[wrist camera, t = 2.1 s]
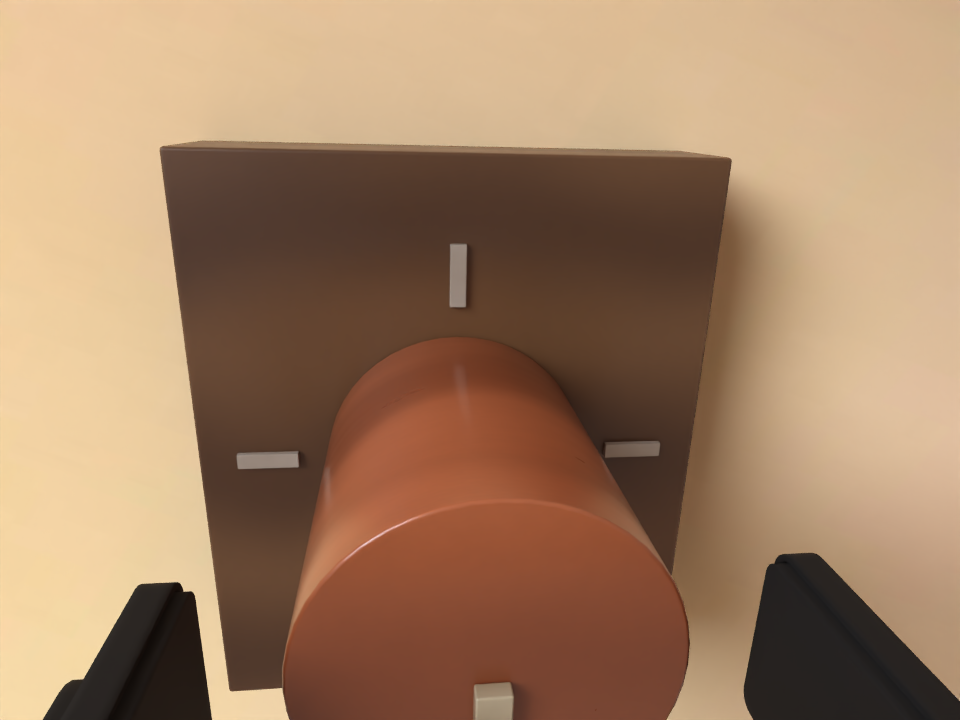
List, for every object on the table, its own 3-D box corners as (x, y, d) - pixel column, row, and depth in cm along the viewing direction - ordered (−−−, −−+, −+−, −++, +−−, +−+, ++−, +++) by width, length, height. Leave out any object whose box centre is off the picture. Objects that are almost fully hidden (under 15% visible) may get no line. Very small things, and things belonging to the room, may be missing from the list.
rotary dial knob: (322, 337, 15) (259, 522, 8) (585, 335, 16) (728, 503, 9) (335, 563, 17) (293, 862, 10) (567, 552, 18) (672, 824, 11)
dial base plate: (199, 140, 16) (155, 146, 13) (680, 150, 18) (736, 158, 15) (251, 615, 21) (227, 697, 18) (627, 594, 22) (661, 667, 19)
